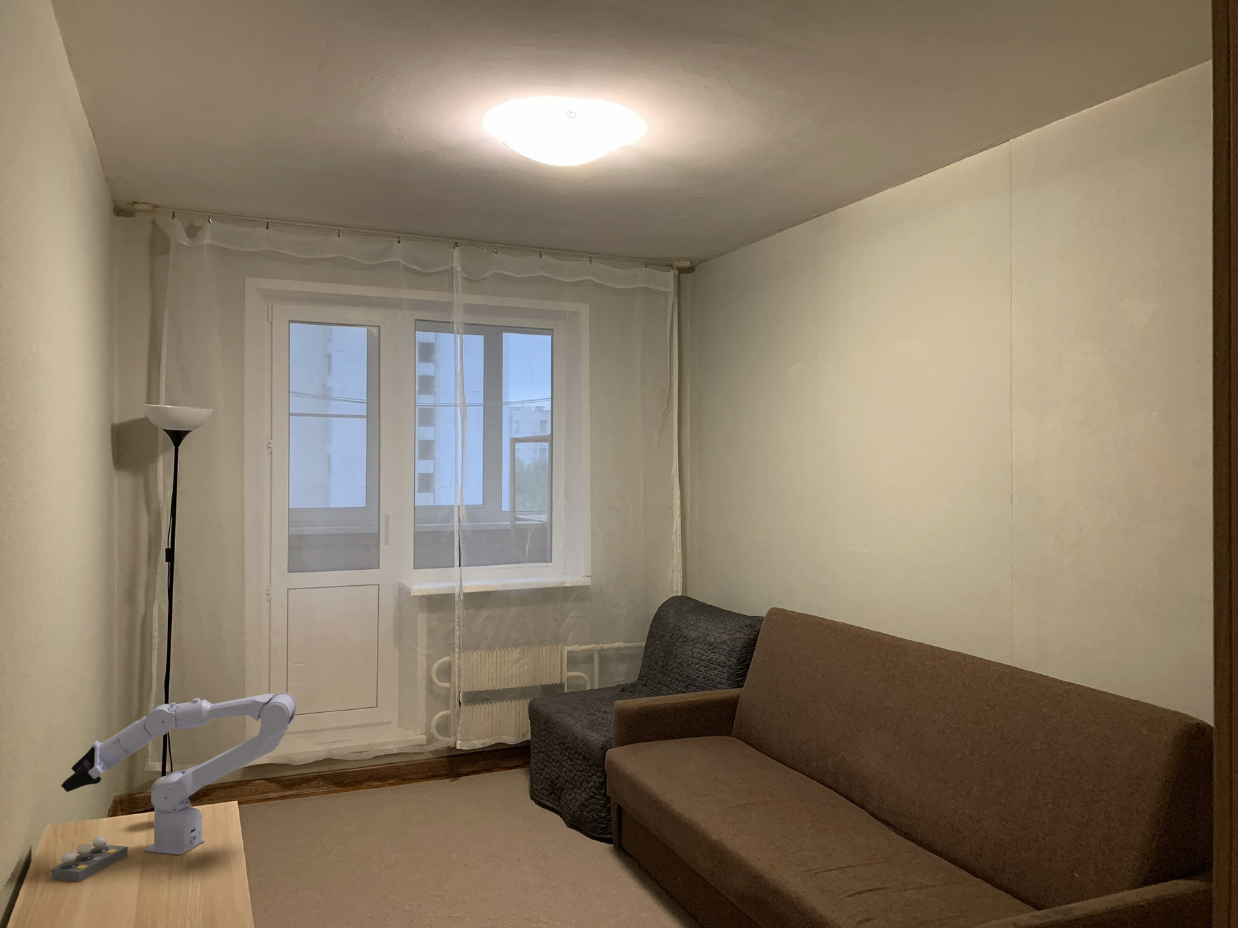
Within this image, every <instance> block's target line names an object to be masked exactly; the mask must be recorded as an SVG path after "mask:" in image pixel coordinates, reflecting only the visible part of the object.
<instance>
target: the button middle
mask: <svg viewBox="0 0 1238 928" xmlns="http://www.w3.org/2000/svg"><path fill="white" fill-rule="evenodd" d="M92 848H93V843H92V844H91V843H83V844H81V845H79V846H78V847H77V854H78V855H80V854H87V853H90V852H91V851H92Z"/></svg>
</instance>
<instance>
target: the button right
mask: <svg viewBox="0 0 1238 928" xmlns="http://www.w3.org/2000/svg"><path fill="white" fill-rule="evenodd" d="M107 842H108V841H107V836H98V837H95V838H93V839H92V848H94V847H100V846H103V845H105V844H106V845H107Z"/></svg>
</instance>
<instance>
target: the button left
mask: <svg viewBox="0 0 1238 928" xmlns="http://www.w3.org/2000/svg"><path fill="white" fill-rule="evenodd" d="M77 854H78V851H67V852H64V853H63V854H62V855H61V862H62V863H64V862H71V861H74V860H76V859H77V856H78V855H77Z"/></svg>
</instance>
